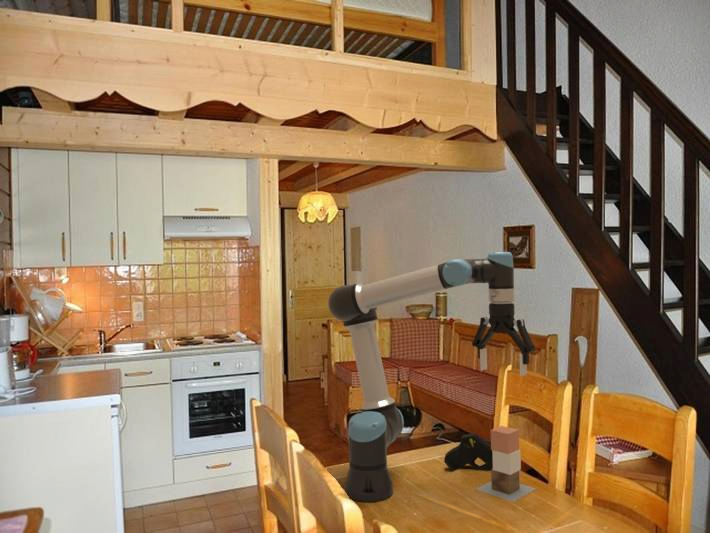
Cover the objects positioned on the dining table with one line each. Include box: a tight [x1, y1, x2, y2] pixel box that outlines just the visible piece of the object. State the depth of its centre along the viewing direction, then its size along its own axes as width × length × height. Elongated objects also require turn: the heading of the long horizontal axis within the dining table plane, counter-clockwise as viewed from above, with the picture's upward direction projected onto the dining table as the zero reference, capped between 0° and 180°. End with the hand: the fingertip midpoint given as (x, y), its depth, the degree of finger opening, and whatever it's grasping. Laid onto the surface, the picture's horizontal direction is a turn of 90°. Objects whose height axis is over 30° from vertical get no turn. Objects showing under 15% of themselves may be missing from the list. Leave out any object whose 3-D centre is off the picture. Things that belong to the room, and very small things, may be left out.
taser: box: [443, 432, 493, 473], centre depth 185 cm, size 4×18×15 cm
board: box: [475, 480, 536, 503], centre depth 167 cm, size 13×13×1 cm
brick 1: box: [490, 425, 520, 454], centre depth 167 cm, size 6×6×6 cm
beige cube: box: [492, 448, 522, 475], centre depth 167 cm, size 6×6×6 cm
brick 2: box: [490, 469, 521, 495], centre depth 167 cm, size 6×6×6 cm
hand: (503, 372), depth 167 cm, fingers open, 13 cm apart
